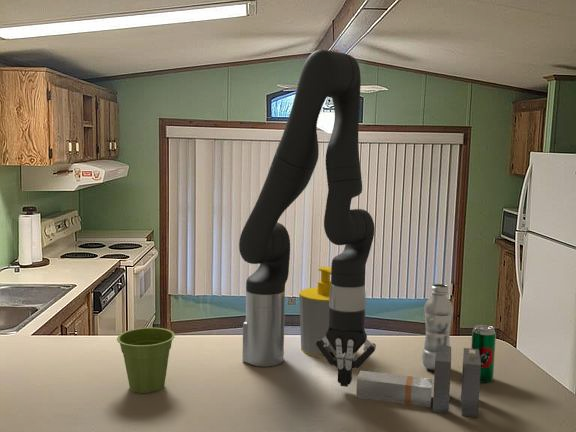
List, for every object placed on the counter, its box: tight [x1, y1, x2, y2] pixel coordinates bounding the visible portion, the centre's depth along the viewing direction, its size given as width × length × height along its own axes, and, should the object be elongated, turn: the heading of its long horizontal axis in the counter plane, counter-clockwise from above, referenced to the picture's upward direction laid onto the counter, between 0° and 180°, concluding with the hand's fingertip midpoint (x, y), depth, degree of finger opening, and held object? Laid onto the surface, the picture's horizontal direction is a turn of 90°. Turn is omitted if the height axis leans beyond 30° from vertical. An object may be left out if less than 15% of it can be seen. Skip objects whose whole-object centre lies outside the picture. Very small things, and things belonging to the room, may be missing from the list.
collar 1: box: [432, 345, 452, 414], centre depth 122 cm, size 3×9×10 cm, turn 165°
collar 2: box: [460, 347, 481, 418], centre depth 121 cm, size 3×9×12 cm, turn 165°
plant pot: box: [116, 327, 176, 394], centre depth 127 cm, size 12×12×11 cm
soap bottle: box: [298, 266, 337, 358], centre depth 152 cm, size 13×13×21 cm
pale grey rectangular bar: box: [355, 369, 433, 408], centre depth 125 cm, size 15×5×4 cm, turn 75°
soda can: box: [470, 324, 497, 383], centre depth 135 cm, size 5×5×12 cm
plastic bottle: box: [421, 283, 454, 371], centre depth 140 cm, size 6×7×20 cm
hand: (344, 385), depth 127 cm, fingers closed
